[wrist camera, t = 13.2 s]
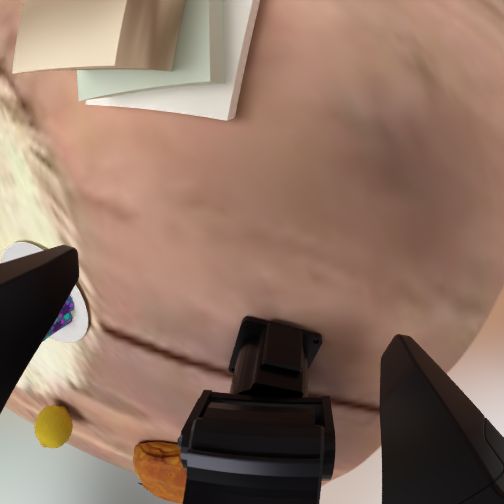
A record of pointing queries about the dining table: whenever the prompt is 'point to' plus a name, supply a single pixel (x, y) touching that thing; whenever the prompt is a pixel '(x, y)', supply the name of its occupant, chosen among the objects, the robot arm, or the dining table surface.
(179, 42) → the sage green block
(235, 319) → the dining table surface
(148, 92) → the base block
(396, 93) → the dining table surface
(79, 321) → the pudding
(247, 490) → the robot arm
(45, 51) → the birch cube
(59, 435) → the lemon
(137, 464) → the croissant
